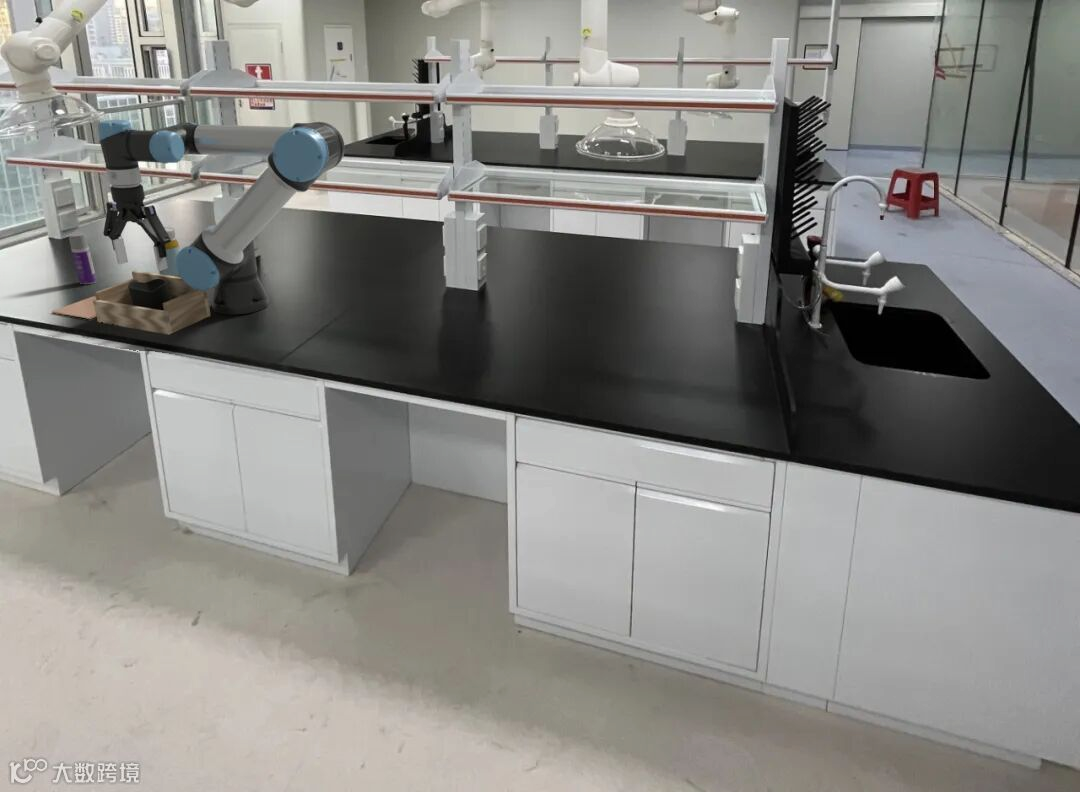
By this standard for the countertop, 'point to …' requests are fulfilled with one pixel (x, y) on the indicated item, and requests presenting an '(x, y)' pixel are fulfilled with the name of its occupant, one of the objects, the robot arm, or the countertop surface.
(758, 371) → the countertop surface
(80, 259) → the container
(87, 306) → the terracotta tile
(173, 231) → the bottle
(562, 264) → the countertop surface
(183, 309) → the open wooden box
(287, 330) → the countertop surface
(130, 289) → the pen holder
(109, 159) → the robot arm
